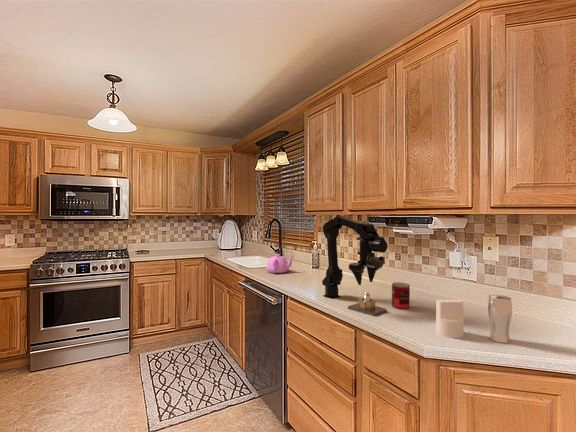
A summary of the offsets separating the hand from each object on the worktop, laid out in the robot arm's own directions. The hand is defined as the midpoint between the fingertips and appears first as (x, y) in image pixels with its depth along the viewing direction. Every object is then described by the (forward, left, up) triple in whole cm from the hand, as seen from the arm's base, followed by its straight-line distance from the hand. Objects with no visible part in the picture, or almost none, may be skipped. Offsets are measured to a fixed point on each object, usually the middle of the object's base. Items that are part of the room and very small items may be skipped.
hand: (365, 283), depth 142 cm
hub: (+2, -2, -10) cm, 11 cm away
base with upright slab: (+38, -3, -12) cm, 40 cm away
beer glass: (+52, +4, -12) cm, 54 cm away
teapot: (-95, +29, -12) cm, 100 cm away
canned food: (+10, +14, -12) cm, 21 cm away
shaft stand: (+2, -2, -12) cm, 12 cm away
